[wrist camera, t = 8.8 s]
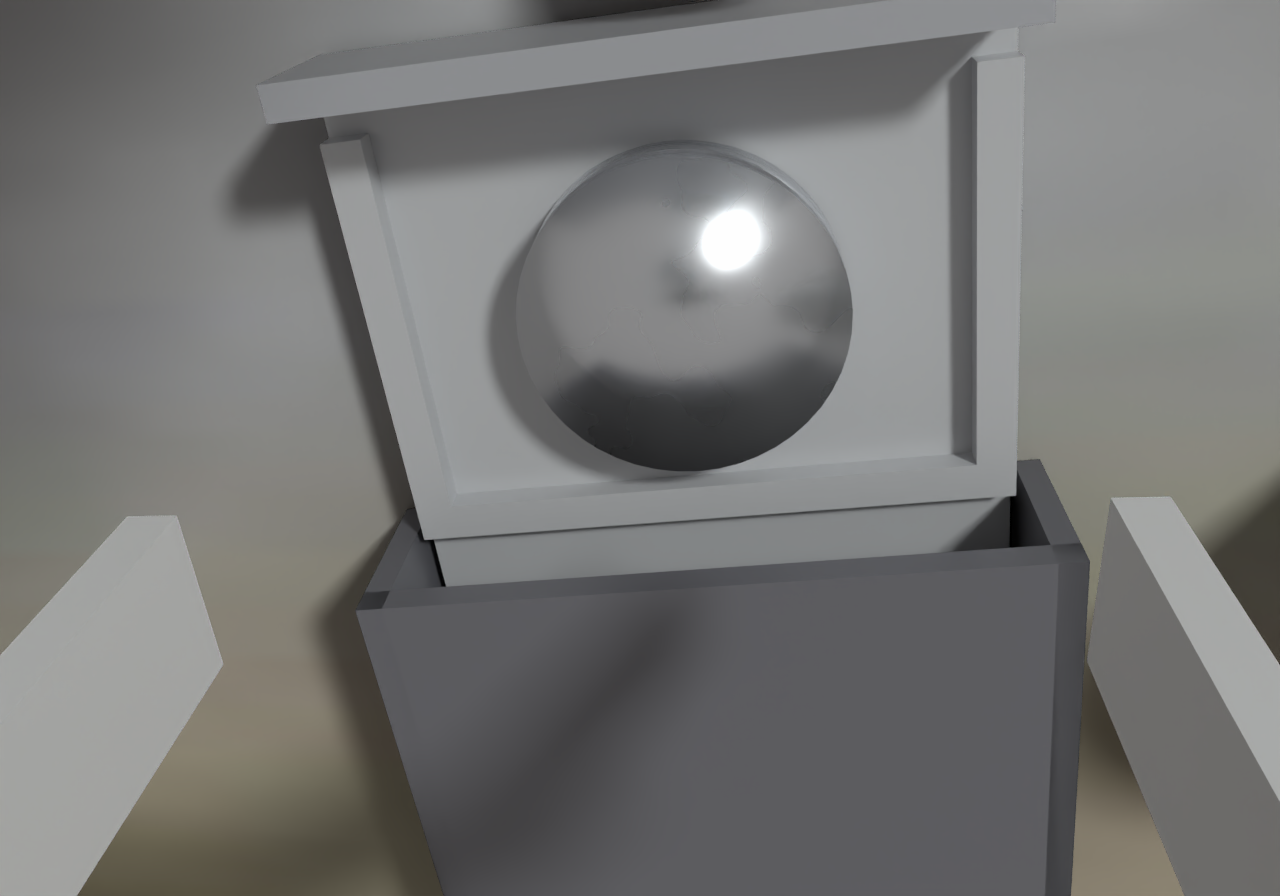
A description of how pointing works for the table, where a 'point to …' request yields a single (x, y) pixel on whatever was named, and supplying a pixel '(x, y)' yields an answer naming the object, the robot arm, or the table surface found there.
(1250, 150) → the table surface
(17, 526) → the table surface
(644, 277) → the disc
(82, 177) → the table surface
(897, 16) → the tray
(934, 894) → the housing
